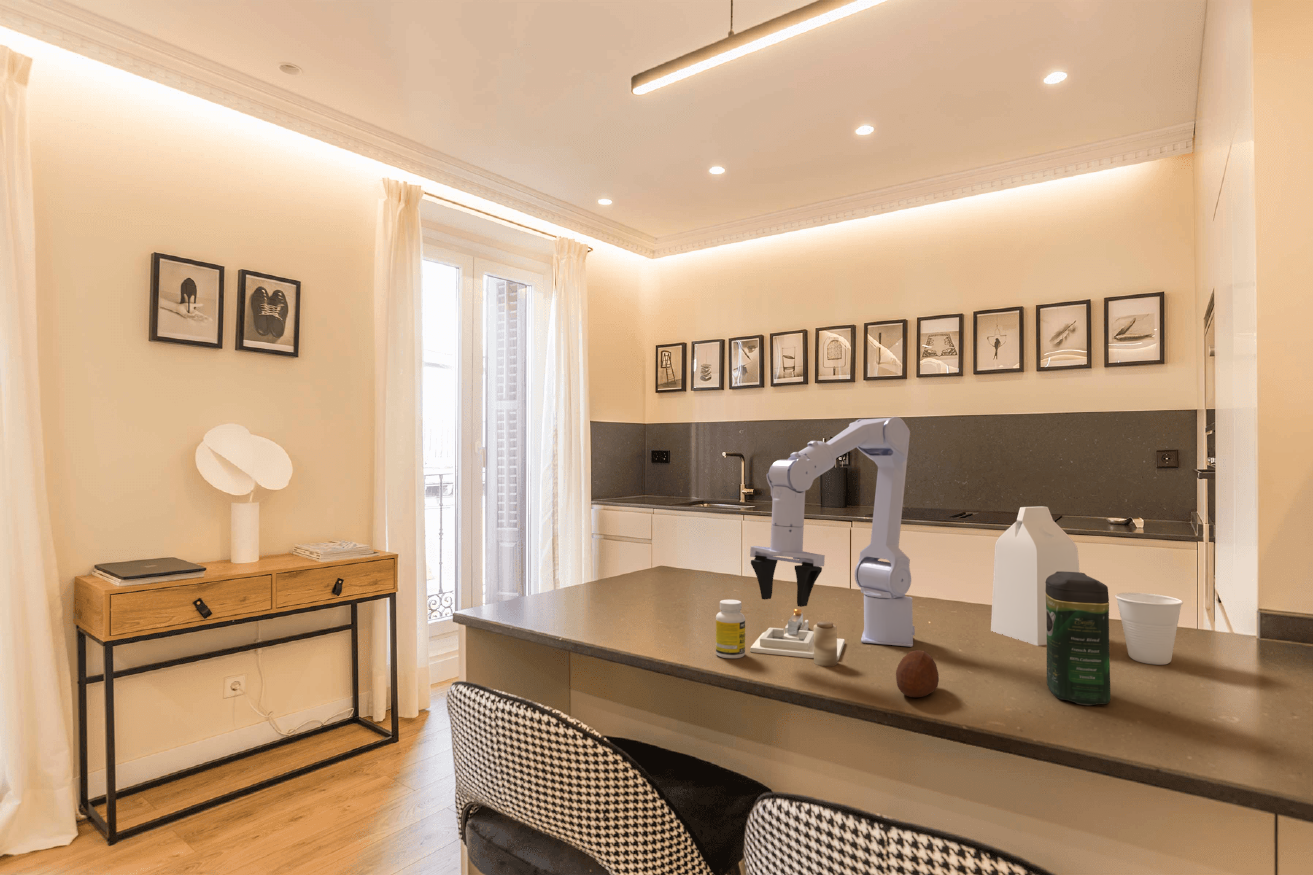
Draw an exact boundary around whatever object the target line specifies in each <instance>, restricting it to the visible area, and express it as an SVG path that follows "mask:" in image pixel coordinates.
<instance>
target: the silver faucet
mask: <svg viewBox="0 0 1313 875" xmlns="http://www.w3.org/2000/svg"><path fill="white" fill-rule="evenodd" d="M803 623H804V613H803V612H802V609H801V608H793V614H792V615H791V617H790V618H789V619H788V621H787V624H788V634H790V635H797V634H798V633H799V630H800V628H801V626H802V625H803Z"/></svg>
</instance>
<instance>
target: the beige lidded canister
mask: <svg viewBox="0 0 1313 875" xmlns="http://www.w3.org/2000/svg"><path fill="white" fill-rule="evenodd" d="M813 631H814V658H813V663H814V664H815V665H817V666H820V667H835V666H837V665H838V661H837V638H838V627H837V626H836V625H835V624H834V623H833V622H831V621H827V620H824V621H823V620H821V621H817V622H816V624H814V625H813Z"/></svg>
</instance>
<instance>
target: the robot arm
mask: <svg viewBox="0 0 1313 875" xmlns="http://www.w3.org/2000/svg"><path fill="white" fill-rule="evenodd" d="M910 437H911V430H910V429H909V427H908V425H907V424H906V422H905V421H904V420H903V419H902V418H901V417H899V416H892V417H885V418H883V417H882V418H859V419H856V420H855V421H853V422H850V423H849V424H848V427H846V428H845V429H844V430H842V431H840V432H839V433H838V434H836V435H835V436H834V437H832V438H830V440H829V439H828V440H827V441H826V442H825V441H821V440H810V441H809V442H807V446H806V447H804V448H803V449H801V450H799V451H794V452H791V453H790V455H789V456H790V457H788V458H787V459H778V460H776V461H774V462H773V463H772V465H770V467H769V470H768V473H766V482H767V485H769V488H770V496H771V499H772V507H771V528H770V529H771V530H770V544H769V545H770V546H769V547H768V546H759V545H754V546H750V552H749V554H750V555H749V557H750V558H754V559H751V560H750V564H751V567H752V569H753V571H754V573H755V576H756V578H757V583H758V586H759V590H760V597H761V600H770V599H772V596H773V584H774V576H775V570H776V568H777V564H778V562H779V561H781V562H789V563H795V564H799V565H794V572H795V578H796V585H797V587H796V588H797V590H796V604H797V605H796V606H797V607H799V608H802V607H807V606H808V603H809V599H810V596H811V593H812V591H813V590H812V589H813V588H814V585H815V584H816V581H817V579H818V578H819V576H820V575H821V573H822V571H823V567H825V557H826V555H825V554H820V553H815V552H814V553H813V552H808V551H803V549H804V529H805V528H804V526H805V505H806V504H805V503H806V491H808V490H810V489H811V487H812V485H813V483H814V480H815V479H816V478H818V477H820V476H821V475H824V473H826V472H828V471H829V470H831V469H832V468H834V466H835V465H836V462H837V458H839V457H840V456H841V457H842V456H843V455H844V454H846V453H848V452H850V451H852V450H854V449H856V448H857V449H858V450H859V451H860V452H861V453H862V454H863V455H864V456H866V457H867V458H868V459H870V460H872V461H873V462H874V464H875V465H876V466H877V474H876V475H877V476H876V487H875V494H874V495H875V496H874V504H873V514H872V524H871V534H870V536H871V537H870V543H869V544H868V545H867V546H866V547H864V548H863V549H862V550H861V551H860V552H859V558H858V562H857V564H856V565H855V568H854V581H855V583H856V585H857V586H858V587H859V588H860V593H861V594H863V623H864V624H863V626H864V627H863V631H862V635H861V638H860V642H861V643H863V644H864V643H865V644H866V643H867V644H876V645H889V646H891V645H892V646H899V647H900V646H901V647H911V648H912V647H914V636H915V634H916V633H915V632H916V631H915V628H916V627H915V625H914V624H913V623H914V622H913V619H914V618H913V616H914V615H913V597H911V596H906V594H907V593H908V591H909V590H910V588H911V584H912V575H911V568H910V562H911V561H910V560H911V559H910V558H909V557H908V556H907V554H905V553H904V552H903V551H902V550H901V548H900V536H901V525H902V515H903V505H904V495H905V485H906V477H907V476H906V474H907V464H908V454H909V449H910V448H909V447H910V445H909V444H910ZM881 559H883V560H887V561H883V560H881ZM888 561H889V562H888Z"/></svg>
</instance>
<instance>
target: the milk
mask: <svg viewBox="0 0 1313 875" xmlns="http://www.w3.org/2000/svg"><path fill="white" fill-rule="evenodd" d="M993 556H994V557H993V560H994V561H993V574H992V575H993V579H992V596H991V598H992V599H991V617H990V619H991V621H990V622H991V623H990V632H992V631H993V633H995V632H996V634H999V635H1002V634H1003V635H1002V636H1005V637H1007V638H1008V637H1009V638H1011V637H1012V639H1015V640H1018V639H1019V640H1018V641H1021V642H1025V643H1027V642H1028V643H1027V644H1031V645H1033V646H1037V647H1039V646H1047V620H1046V591H1045V590H1046V583H1045V582H1046V579H1047V577H1049V576H1050V575H1052V574H1055V573H1056V572H1057V571H1064V572H1080V563H1079V551H1078V547H1077V544H1076V543H1075V541H1074V540H1073V539H1072V538H1071V536H1069V535H1068V534H1067V532H1065V531H1064V530H1063V528H1061V526H1059V524H1058V523H1057V522H1055V520H1054V519H1053V517H1052V514H1051V511H1050V510H1049V506H1021V507H1019V510H1018V514H1017V518H1016V521H1015V522H1014V523H1013V524H1011V525H1010V527H1008V528H1007V529H1006V530H1005V531H1004V532H1003V533H1002V534H1001V535H1000V536H999V537H998V538H997V539H996V541H995V544H994V555H993Z"/></svg>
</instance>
